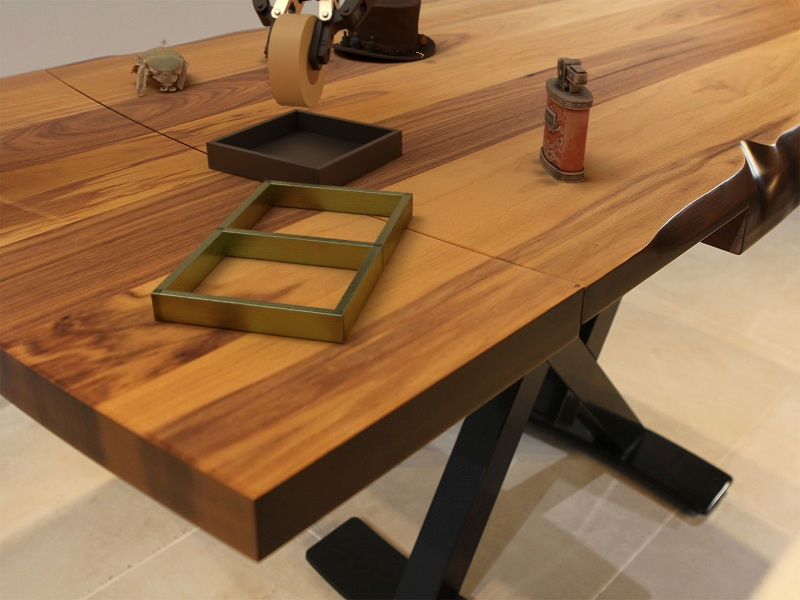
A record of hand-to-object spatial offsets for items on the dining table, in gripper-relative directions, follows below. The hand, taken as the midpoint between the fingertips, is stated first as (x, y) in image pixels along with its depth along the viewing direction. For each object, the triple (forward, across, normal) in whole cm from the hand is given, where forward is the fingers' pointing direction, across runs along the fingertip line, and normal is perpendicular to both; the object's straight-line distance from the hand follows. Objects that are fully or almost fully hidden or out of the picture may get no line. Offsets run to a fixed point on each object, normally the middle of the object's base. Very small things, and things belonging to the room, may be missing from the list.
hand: (295, 63), depth 76 cm
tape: (+1, 0, +4) cm, 4 cm away
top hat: (-28, -4, +42) cm, 50 cm away
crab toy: (-10, -27, +24) cm, 38 cm away
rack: (+20, +6, -7) cm, 22 cm away
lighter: (+3, +24, +11) cm, 26 cm away
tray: (+6, 0, +8) cm, 10 cm away
